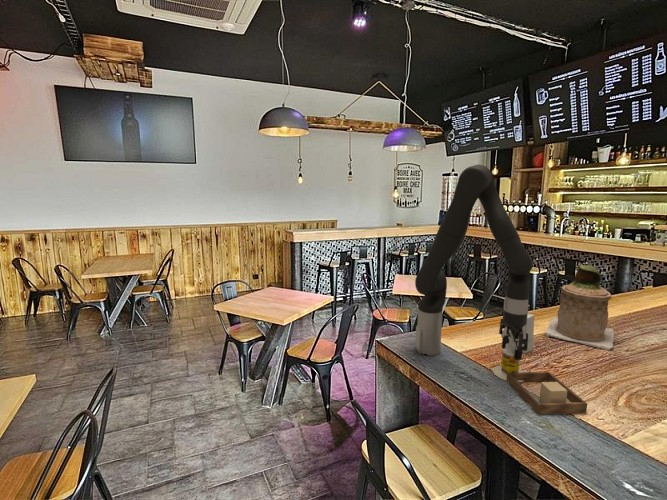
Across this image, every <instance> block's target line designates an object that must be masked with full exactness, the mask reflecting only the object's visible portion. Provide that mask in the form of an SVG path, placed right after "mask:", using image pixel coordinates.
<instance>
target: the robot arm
mask: <svg viewBox="0 0 667 500" xmlns="http://www.w3.org/2000/svg"><path fill="white" fill-rule="evenodd" d="M477 200H479V202H480V204H481V206H482V208H483V211H484V214H485V217H486V221H487V224H488V227H489V230H490V233H491V234H492V236H493V238H494V239H495V241H496V244H497V245H498V246H499V247H498V248H500V249H501V252H502V254H503V256H504V259H505V262H506V264H507V266H508V270H507V271H508V275H507V277H508V278H507V283H506V287H505V295H504V296H505V297H504V302H503V311H502V318H501V319H500V321H499V322H500V323H499V330H498V334H499V335H501V338H502V339H501V348H502V350H503V349H504V348H505V347H506V344H507V343H509V337H510V338H511V339H512V343H514V345H515V353H514V359H515V360H520V361H521V360H522V357H523V352H522V351H527V346H528V333H523V330H522V327H523V326H525V325H526V324H527V315H528V314H529V313H528V312H529V296H530V276H531V271H532V270H533V266H534V263H533V259H532V257H531V255H530V254H529V253H528V252H527V250H526V248H525V246H524V245H523V243H522V240H521V237H520V235H519V233H518V231H517V229H516V227H515V226H514V224H513V222H512V220H511V218H510V216H509V214H508V212H507V210H506V209H505V206H504V204H503V202H502V200H501V197H500V195H499V192H498V189H497V187H496V183H495V181H494V178H493V175H492V171H491V170H490V169H489V167H488V166H486V165H484V164H473V165H471V166H468V167H466V168H465V169H464V170H463V171H462V172H461V173H460V175H459V177H458V180H457V183H456V186H455V190H454V193H453V196H452V199H451V202H450V205H449V206H448V209H447V210H446V212H445V214H444V216H443V218H442V221H441V223H440V225H439V228H438V230H437V232H436V234H435V237H434V240H433V242H432V245H431V247H430V249H429V251H428V253H427V256H426V258H425V260H424V262H423V264H422V265H421V267H420V269H419V271H418V273H417V275H416V276H415V282H414V284H415V288H416V291H417V292H418V293H419V294H421V295H423V297H422V298H421V299H420V300H419V302H418V308H417V309H418V310H417V311H418V312H417V313H418V314H417V325H415V345H414V347H415V349H416V351H417V353H418V354H419V355H424V354H427V355H426V356H437V355H440V353H441V350H442V349H441V348H442V329H443V311H444V310H443V308H444V306H445V305H446V304H445V303H446V298H447V297H446V296H447V289H448V288H447V286H448V281H447V280H448V279H447V276H446V274H445V273H444V271H443V270H442V269H443V268H444V266H445V264H447V262H449V260H450V259H451V258H452V257H453V256H454V255H455V253H456V252H458V250H459V249H460V247H461V245H462V243H463V240H464V239H465V236H466V234H467V232H468V229H469V225H470V224H469V223H470V217H471V213H472V210H473V209H474V208H473V207H474V206H475V204H476V203H477ZM515 339H519V340H515ZM517 343H518V345H517ZM523 344H524V346H523ZM421 353H422V354H421ZM436 354H437V355H436Z"/></svg>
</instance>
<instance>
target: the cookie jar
mask: <svg viewBox="0 0 667 500" xmlns="http://www.w3.org/2000/svg"><path fill="white" fill-rule="evenodd" d="M577 265H578V269H577V270H576V271H577V272H575V273H574V274H575V275H574V276H575V280H573V281H572V282H571V283H569V284H565V285H562V286H561V292H560V295H559V302H560V304H559V307H558V310H557V315H556V316H557V317H556V316H553V317H552V318H551V320H550V322H549V324H548V325H547V328H546V330H544V333H545V335H546V338H549V337H552V338H556V339H560V340H563V341H568V342H573V343H578V344H581V345H586V346H590V347H594V348H597V349H600V348H601V350H605V351H610V350H611V349H613V348H614V344H613V343H614V340H615V333H614V332H615V330H614V329H612V328H609V327H608V322H609V321H608V318H609V311H608V308H609V307H608V306H609V301H610V300H611V299H612V294H611V292H609V291H607V289H605V288H604V287H602V286H600V285H599V284H600V283H601V278H602V276H601V274H600V273H601V272H599V270H597V268H596V267H595V266H594V265H588V264H587V265H585V264H584V265H583V264H580V263H578V264H577Z"/></svg>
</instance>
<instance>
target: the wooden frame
mask: <svg viewBox="0 0 667 500" xmlns="http://www.w3.org/2000/svg"><path fill="white" fill-rule="evenodd" d="M517 380H524V382H523V383H526V382H527V383H528V382H531V383H532V382H558V383H559V384H560V385H561V386H562V387H564V388H565V389H566V390H567V398H566V400H568V401H569V402H566V403H542V402H540V401H538V400H537V399H536V398H535V397H534V396H533V395H532V394H531V393H530V392H529V391H528V390H527V389H526V388H525V387H524V386H523V385H522V384H521V383H519V382H518V381H517ZM506 382H507V383H508V382H509V383H508V385H509V386H512V387H513V388H514V389H515V390H516V391H517V392H518V393H519V394H520V395H519V394H518V393H517V392H516V391H515V390H514V389H513V388H512V387H511V388H512V389H513V390H514V391H515V392H516V393H517V394H518V395H519V396H520V398H522V400H523V401H524V402H525V403H526V402H527V403H528V404H529V405H530V406H531V407H532V408H531V407H530V406H529V405H528V404H527V403H526V404H527V405H528V406H529V407H530V408H531V409H532V410H533V411H534V412H535V413H536V414H537V415H563V414H566V415H567V414H587V409H588V403H587V402H586V401H585V400H584V399H582V398H581V397H580V396H579V395H577V394H576V393H575V391H573V390H572V389H571V388H569V387H568V386H567V385H566V384H564V383H563V382H562V381H561V380H560V379H559V378H557V377H556V376H555V375H554V374H552V373H551V372H550V371H534V372H533V371H531V372H528V371H527V372H525V371H524V372H521V373H507V381H506ZM551 413H552V414H551ZM553 413H555V414H553ZM556 413H557V414H556ZM558 413H559V414H558Z"/></svg>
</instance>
